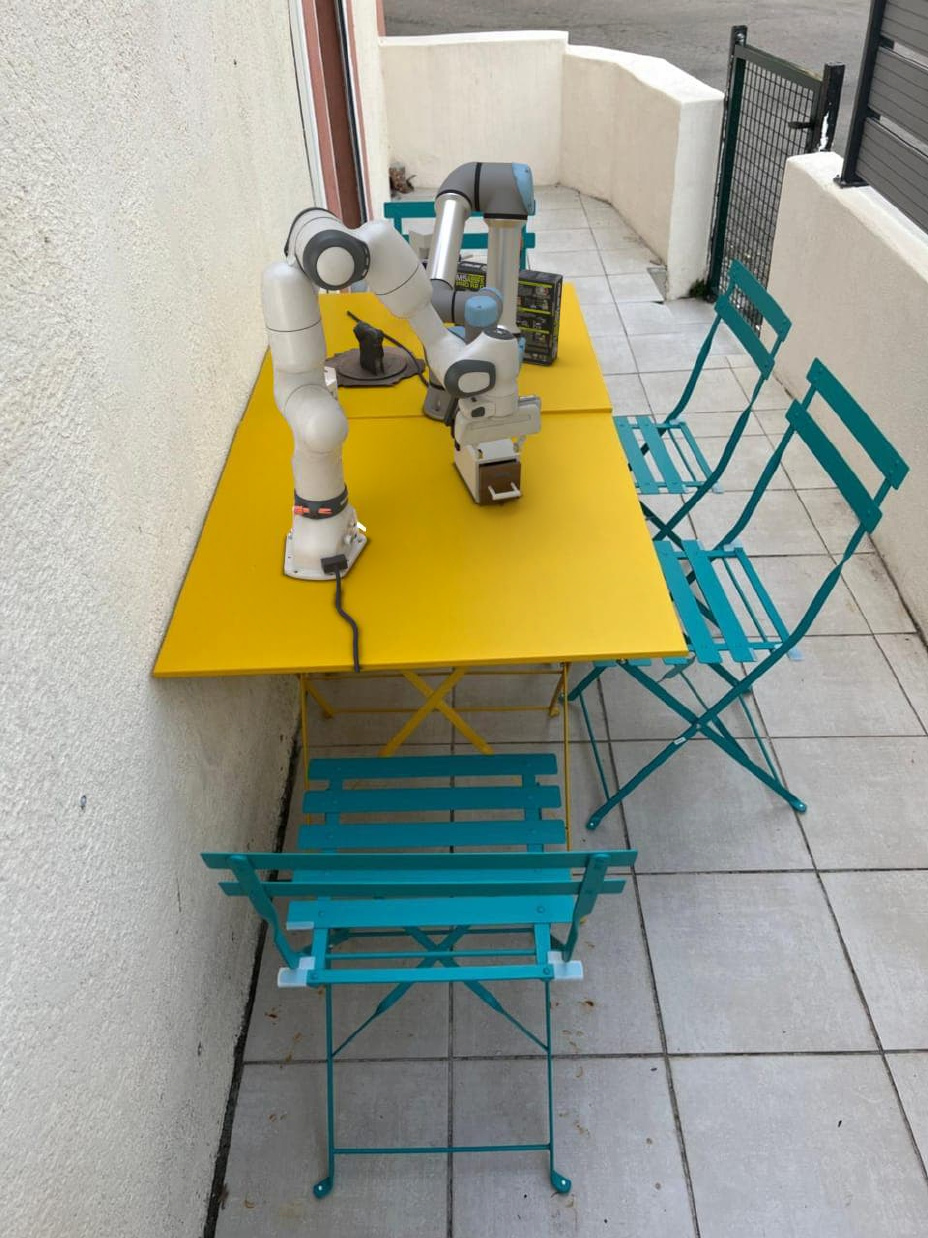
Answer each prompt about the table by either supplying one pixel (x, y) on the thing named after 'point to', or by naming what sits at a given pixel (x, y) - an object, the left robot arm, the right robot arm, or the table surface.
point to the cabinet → (481, 461)
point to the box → (525, 307)
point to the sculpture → (372, 360)
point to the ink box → (331, 381)
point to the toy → (426, 243)
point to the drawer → (499, 481)
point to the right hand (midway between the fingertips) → (480, 445)
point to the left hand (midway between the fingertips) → (498, 454)
